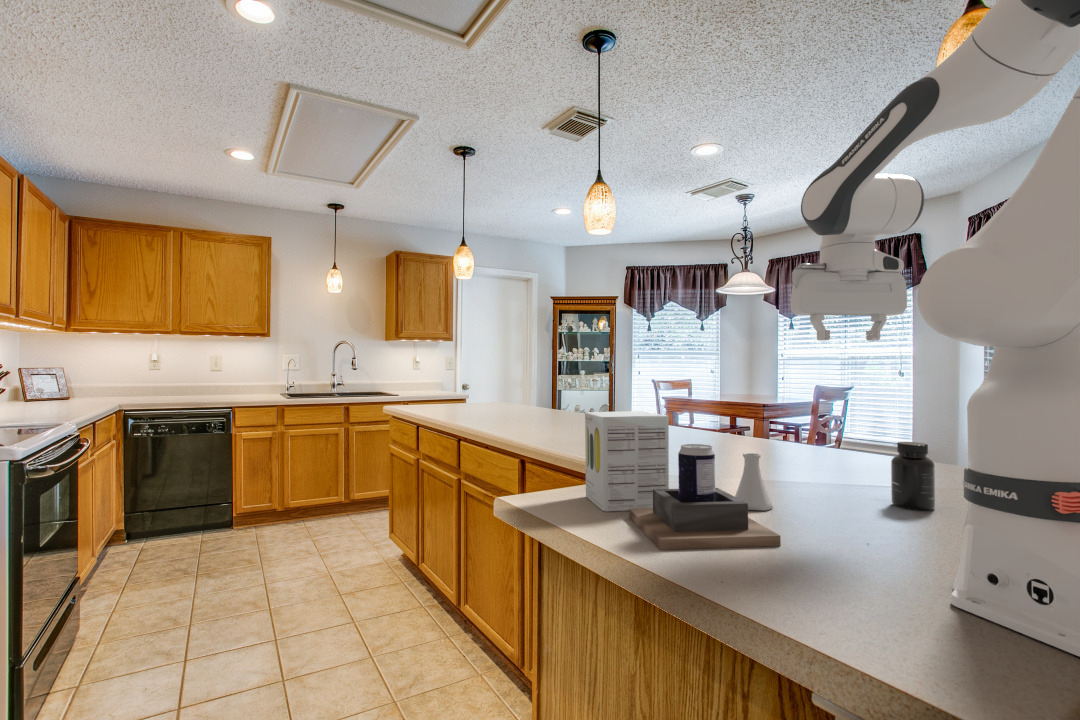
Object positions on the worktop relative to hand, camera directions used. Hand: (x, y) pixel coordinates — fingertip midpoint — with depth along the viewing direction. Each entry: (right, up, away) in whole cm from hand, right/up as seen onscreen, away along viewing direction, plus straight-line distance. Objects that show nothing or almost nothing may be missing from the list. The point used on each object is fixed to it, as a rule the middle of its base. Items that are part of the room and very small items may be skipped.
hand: (848, 340), depth 99 cm
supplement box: (-39, -32, +9) cm, 51 cm away
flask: (-15, -32, +5) cm, 35 cm away
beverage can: (-30, -30, -10) cm, 44 cm away
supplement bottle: (+15, -31, +5) cm, 35 cm away
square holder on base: (-30, -31, -10) cm, 44 cm away
